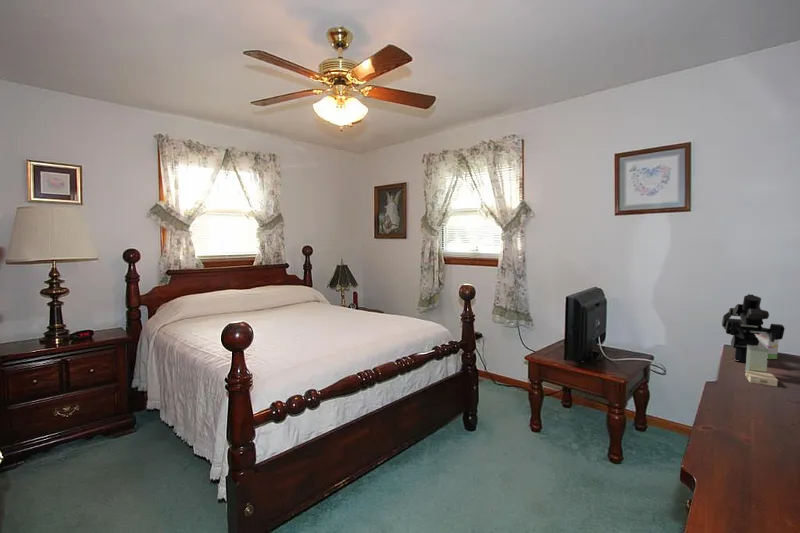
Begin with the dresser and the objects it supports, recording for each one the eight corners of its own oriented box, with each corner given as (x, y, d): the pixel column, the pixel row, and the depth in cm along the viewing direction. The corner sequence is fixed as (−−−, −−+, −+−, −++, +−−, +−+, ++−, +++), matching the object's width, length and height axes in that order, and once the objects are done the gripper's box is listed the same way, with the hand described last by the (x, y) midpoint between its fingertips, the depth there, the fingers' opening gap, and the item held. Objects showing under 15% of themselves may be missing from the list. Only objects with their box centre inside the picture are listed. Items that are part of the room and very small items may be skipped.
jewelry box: (744, 377, 168) (745, 370, 167) (770, 380, 164) (771, 373, 163) (750, 383, 160) (750, 376, 160) (777, 387, 156) (778, 380, 156)
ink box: (777, 360, 191) (780, 329, 189) (767, 359, 191) (769, 329, 189) (761, 354, 199) (764, 325, 198) (751, 354, 199) (754, 324, 198)
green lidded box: (744, 372, 173) (747, 344, 172) (762, 374, 170) (764, 346, 169) (748, 376, 168) (750, 347, 167) (766, 378, 165) (768, 350, 164)
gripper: (726, 303, 181) (732, 320, 169) (781, 307, 172) (792, 325, 160) (722, 324, 186) (728, 342, 173) (776, 329, 176) (787, 349, 164)
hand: (758, 339), depth 167 cm, fingers open, 9 cm apart
